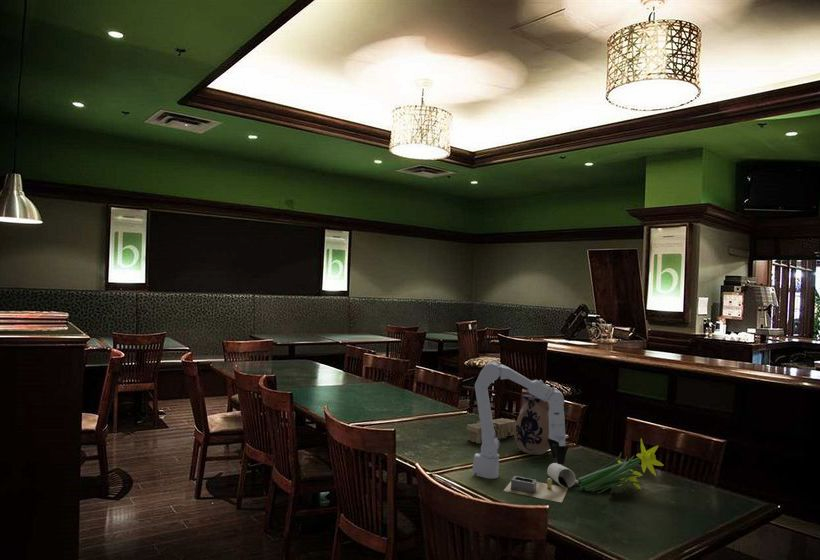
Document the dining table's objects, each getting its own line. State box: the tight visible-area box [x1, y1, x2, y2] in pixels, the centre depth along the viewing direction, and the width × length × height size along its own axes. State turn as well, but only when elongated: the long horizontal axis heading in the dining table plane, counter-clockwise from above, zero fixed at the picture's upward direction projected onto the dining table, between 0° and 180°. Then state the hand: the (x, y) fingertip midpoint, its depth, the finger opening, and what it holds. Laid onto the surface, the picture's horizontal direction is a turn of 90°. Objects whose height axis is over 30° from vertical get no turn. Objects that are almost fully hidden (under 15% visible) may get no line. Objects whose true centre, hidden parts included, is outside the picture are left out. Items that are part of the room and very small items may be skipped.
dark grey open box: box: [510, 475, 538, 494], centre depth 197 cm, size 8×5×4 cm, turn 66°
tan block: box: [466, 417, 517, 445], centre depth 269 cm, size 8×8×29 cm
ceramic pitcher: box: [513, 393, 551, 456], centre depth 251 cm, size 18×21×25 cm
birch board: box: [503, 481, 569, 503], centre depth 198 cm, size 20×16×2 cm
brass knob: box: [546, 477, 553, 490], centre depth 199 cm, size 2×2×4 cm
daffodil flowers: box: [576, 438, 664, 494], centre depth 205 cm, size 17×15×35 cm
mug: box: [546, 462, 579, 488], centre depth 208 cm, size 10×7×12 cm
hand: (558, 460), depth 204 cm, fingers open, 7 cm apart
